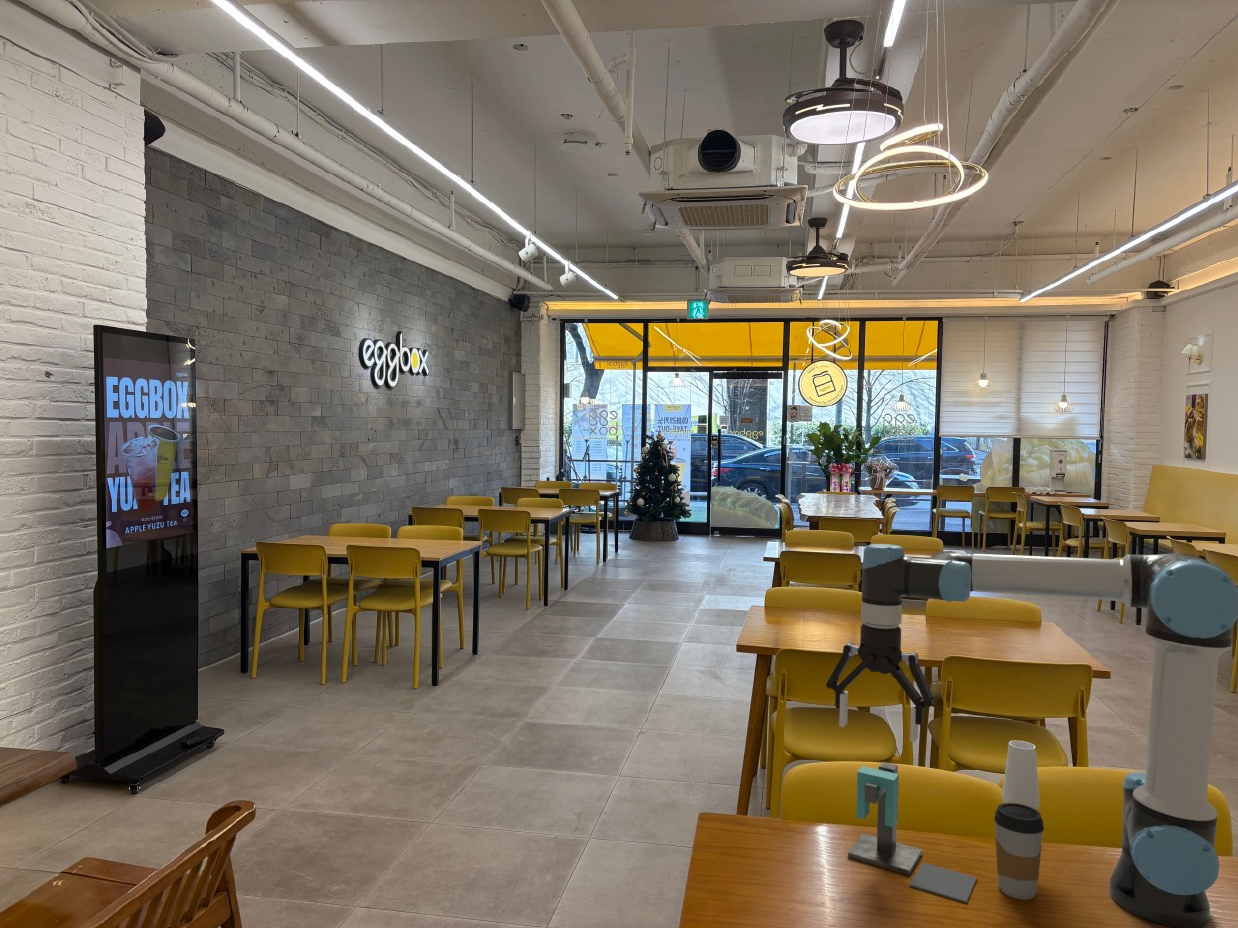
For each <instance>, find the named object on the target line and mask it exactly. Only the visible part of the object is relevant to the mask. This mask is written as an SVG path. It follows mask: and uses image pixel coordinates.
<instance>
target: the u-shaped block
mask: <svg viewBox="0 0 1238 928" xmlns="http://www.w3.org/2000/svg"><path fill="white" fill-rule="evenodd" d="M856 775H857V776H856V777H857V778H856V817H855V818H858V819H860V820H865V819H866V818H867V816H868V815H869V814H870V802H866V801H865V784H866V783H868V784H873V785H877V787H881V788H885V789H886V802H885V825H887V826H891V827H893V826H894V825H895V823H896V822H898V820H899V783H900V782H899V780H900V779H899V778H900V777H899V776H900V775H899V773H898V774H895V773H891V772H887V771H882V770H879V768H878V769H877V768H872V767H869V766H864V765H862V767H860V768H859V769H858V770H857V773H856Z"/></svg>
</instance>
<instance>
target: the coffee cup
mask: <svg viewBox="0 0 1238 928" xmlns="http://www.w3.org/2000/svg"><path fill="white" fill-rule="evenodd" d="M993 820H994V822H995V850H996V851H995V853H996V871H997V881H998V882H997V883H998V887H999V889H1000V891H1001V892H1002V893H1003V894H1004V895H1006V896H1008V897H1010V898H1013V899H1016V900H1024V901H1025V900H1027V901H1028V900H1032V899H1034V898H1035V896H1036V895H1037V890H1038V880H1039V877H1040V875H1039V874H1040V867H1041V865H1040V864H1041V854H1042V840H1043V832H1044V830H1045V827H1044V820H1043V819H1042V814H1041V813H1040V812H1039V811H1038V809H1037V810H1035V809H1033V808H1031V807H1029V806H1026V805H1022V804H1016V803H1004V802H1003V803H1000V804H999V805H997V809H996V810H995V811H994V818H993Z"/></svg>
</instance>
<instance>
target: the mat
mask: <svg viewBox="0 0 1238 928" xmlns="http://www.w3.org/2000/svg"><path fill="white" fill-rule="evenodd" d="M977 880H978V878H977V877H976V876H973V875H969V874H966V873H961V872H959V871H955V870H952V869H947V868H944V867H941V866H937V865H933V864H930V863H927V862H926V863H925V862H921V864H920V866H919V867H918V869H917V871H916V873H915V874H914V876H913V878H912V879H911V881H910V883H909V887H911V888H913V889H917V890H920V891H924V892H928V893H929V894H930V893H931V894H934V895H937V896H940V897H944V898H948V899H951V900H953V901H957V902H960V903H964V904H968V902H969V899H970V896H972V895H971V894H972V892H973V890H974V887H975V885H976V882H977Z"/></svg>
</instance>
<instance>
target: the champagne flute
mask: <svg viewBox="0 0 1238 928" xmlns="http://www.w3.org/2000/svg"><path fill="white" fill-rule="evenodd" d="M1036 748H1037V747H1036V745H1035V744H1034V743H1031V742H1029V741H1028V742H1027V741H1025V740H1010V741H1009V742H1008V748H1007V755H1006V764H1005V772H1004V779H1003V784H1002V785H1003V786H1002V793H1001V797H1002V798H1001V799H1002V802H1003V803H1016V804H1022V805H1026V806H1029V807H1031V808H1033V809H1035V810H1037V811H1038V808H1039V807H1040V805H1041V799H1040V787H1039V776H1038V774H1039V773H1038V764H1037V763H1038V762H1037V761H1038V760H1037V750H1036Z"/></svg>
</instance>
